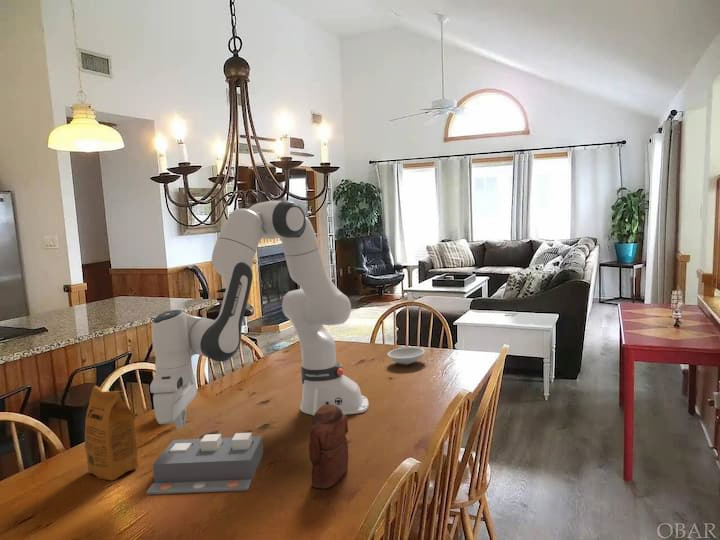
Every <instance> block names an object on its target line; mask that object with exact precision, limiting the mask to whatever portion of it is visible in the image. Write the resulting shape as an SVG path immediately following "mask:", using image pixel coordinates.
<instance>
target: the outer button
mask: <svg viewBox="0 0 720 540" xmlns="http://www.w3.org/2000/svg"><path fill="white" fill-rule="evenodd" d="M191 447H192V443H176V444H175V445H174V446H173V447H172V448H171V450H170V453H179V452H188V451H189V449H190V448H191Z"/></svg>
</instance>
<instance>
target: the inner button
mask: <svg viewBox="0 0 720 540" xmlns="http://www.w3.org/2000/svg"><path fill="white" fill-rule="evenodd" d="M252 436H253V435H252V432H235V434H234V435H233V436H232V437H233V439H232V450H249V449H251V446H252Z"/></svg>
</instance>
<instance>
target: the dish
mask: <svg viewBox="0 0 720 540" xmlns="http://www.w3.org/2000/svg"><path fill="white" fill-rule="evenodd" d="M425 353H426V350H425V348H422V347H417V346H406V347H399V348H395V349H392V350H389V351H388V352H387V354H386V355H387V357H388V358H390V359H391V360H392V361H393V362H395V363H397V364H400V365H405V366H408V365H410V364H413V363H415V362H417V361H418V360H419V359H421V358H422V356H423V355H424V354H425Z"/></svg>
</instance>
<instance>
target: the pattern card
mask: <svg viewBox="0 0 720 540" xmlns="http://www.w3.org/2000/svg"><path fill="white" fill-rule="evenodd" d="M251 485H252V480H251V479H248V480H224V481H200V482H176V483H155V482H154V483H152V484H151V485H150V487H148V488H147V490H146V491H145V493H146V495H163V494H164V495H165V494H169V495H170V494H188V493H189V494H192V493H209V492H211V493H212V492H213V493H215V492H217V493H218V492H235V491H238V492H239V491H249V489H250V486H251Z"/></svg>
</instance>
